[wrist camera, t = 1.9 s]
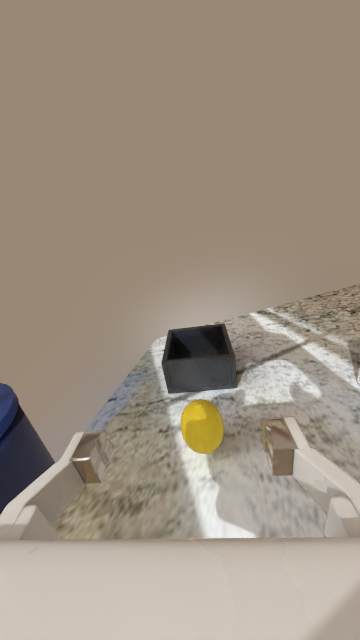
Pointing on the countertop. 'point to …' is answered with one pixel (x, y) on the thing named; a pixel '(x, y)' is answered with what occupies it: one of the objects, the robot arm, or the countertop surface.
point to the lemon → (202, 426)
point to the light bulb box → (359, 379)
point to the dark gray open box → (199, 359)
